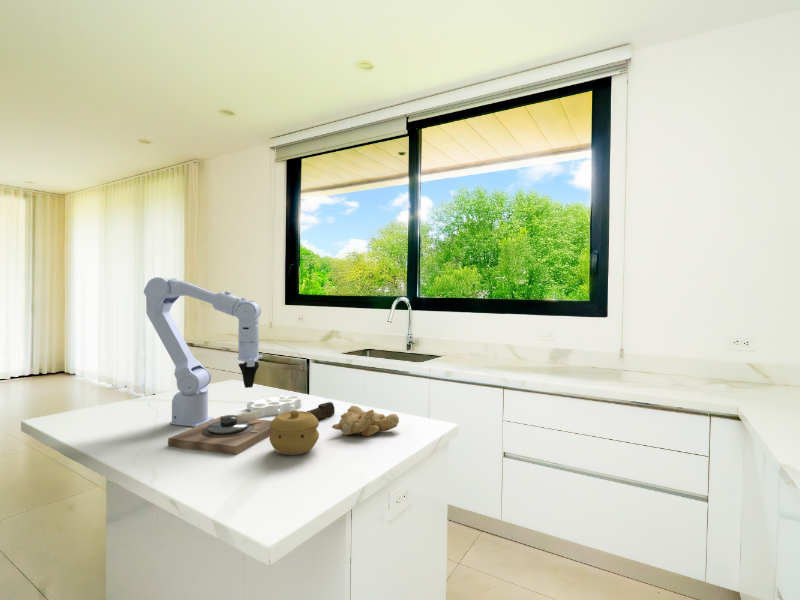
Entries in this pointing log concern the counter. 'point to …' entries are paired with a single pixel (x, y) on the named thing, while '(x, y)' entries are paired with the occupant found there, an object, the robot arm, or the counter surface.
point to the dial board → (222, 438)
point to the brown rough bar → (323, 410)
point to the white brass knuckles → (275, 405)
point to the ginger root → (365, 422)
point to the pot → (294, 432)
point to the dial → (233, 423)
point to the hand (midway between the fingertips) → (248, 387)
